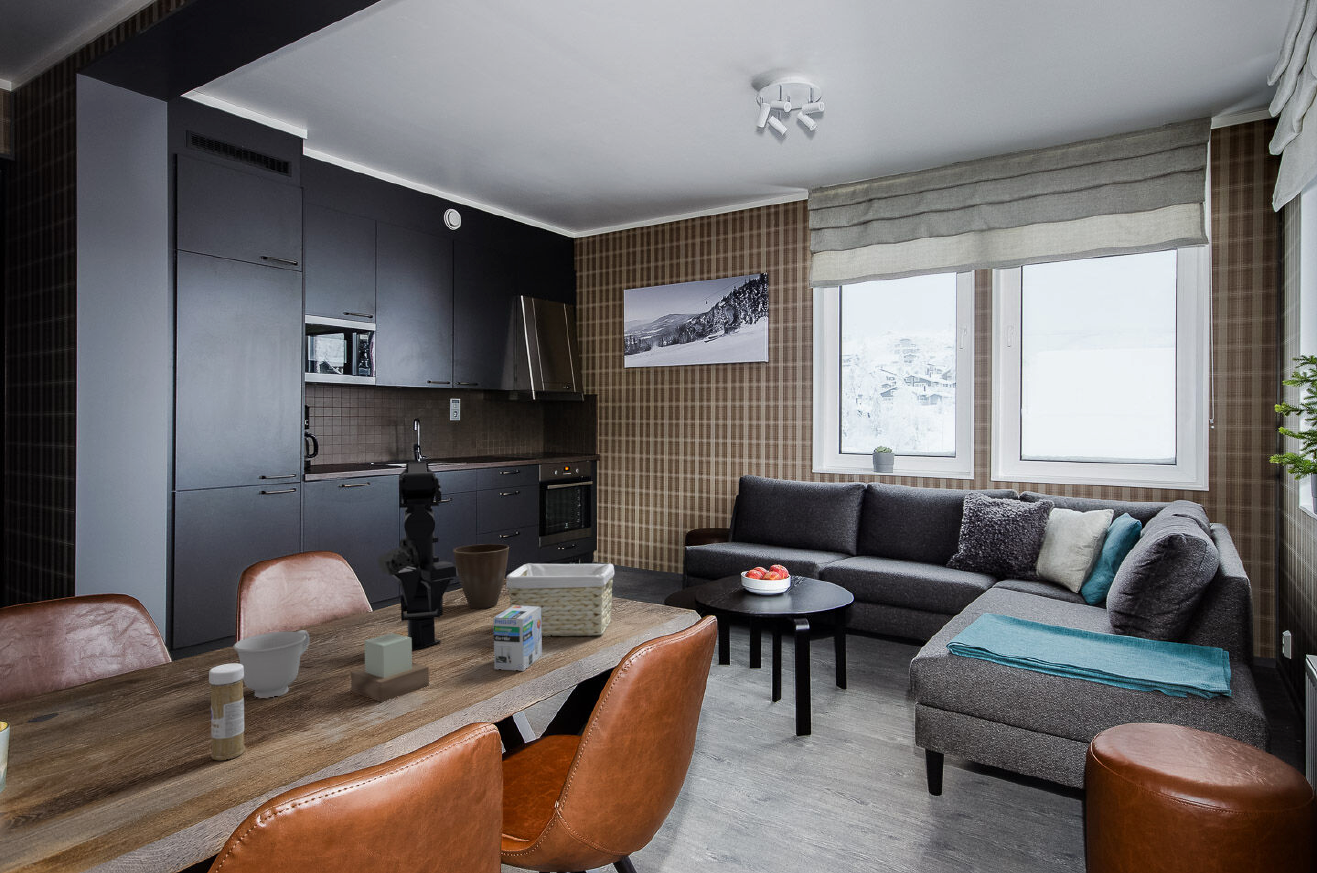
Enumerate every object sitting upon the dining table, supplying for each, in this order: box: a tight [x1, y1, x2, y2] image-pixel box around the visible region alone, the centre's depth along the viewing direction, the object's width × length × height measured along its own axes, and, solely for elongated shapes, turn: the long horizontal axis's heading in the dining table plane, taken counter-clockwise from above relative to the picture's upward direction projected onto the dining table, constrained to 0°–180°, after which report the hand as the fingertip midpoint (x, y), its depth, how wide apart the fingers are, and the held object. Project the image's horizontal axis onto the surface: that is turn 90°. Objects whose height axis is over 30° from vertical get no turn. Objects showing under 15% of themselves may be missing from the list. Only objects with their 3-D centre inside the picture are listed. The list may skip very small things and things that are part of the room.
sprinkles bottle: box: [208, 662, 246, 761], centre depth 111 cm, size 5×5×14 cm
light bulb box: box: [492, 605, 543, 672], centre depth 152 cm, size 11×7×11 cm, turn 168°
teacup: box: [232, 629, 311, 699], centre depth 138 cm, size 12×15×10 cm
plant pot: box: [452, 543, 510, 609], centre depth 201 cm, size 15×15×16 cm
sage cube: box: [364, 632, 413, 678], centre depth 137 cm, size 6×6×6 cm
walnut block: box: [350, 661, 430, 703], centre depth 138 cm, size 10×10×4 cm
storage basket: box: [505, 562, 615, 637], centre depth 177 cm, size 24×16×15 cm
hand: (421, 608), depth 150 cm, fingers open, 9 cm apart
